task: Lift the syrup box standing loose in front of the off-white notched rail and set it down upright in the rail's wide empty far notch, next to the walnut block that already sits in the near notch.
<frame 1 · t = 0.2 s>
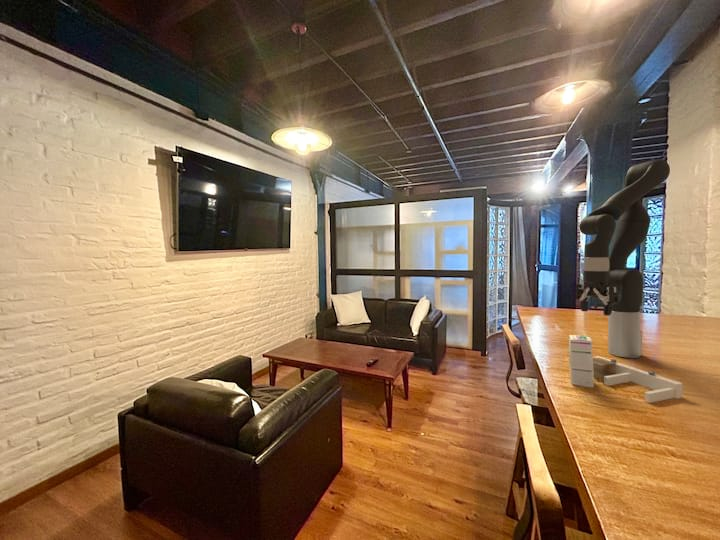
hand: (595, 313, 110), 18 cm above the table, tool pointing down, fingers open, 8 cm apart
notch rail: (633, 381, 92), on the table
walnut block: (600, 376, 97), on the table
syrup box: (581, 383, 93), on the table
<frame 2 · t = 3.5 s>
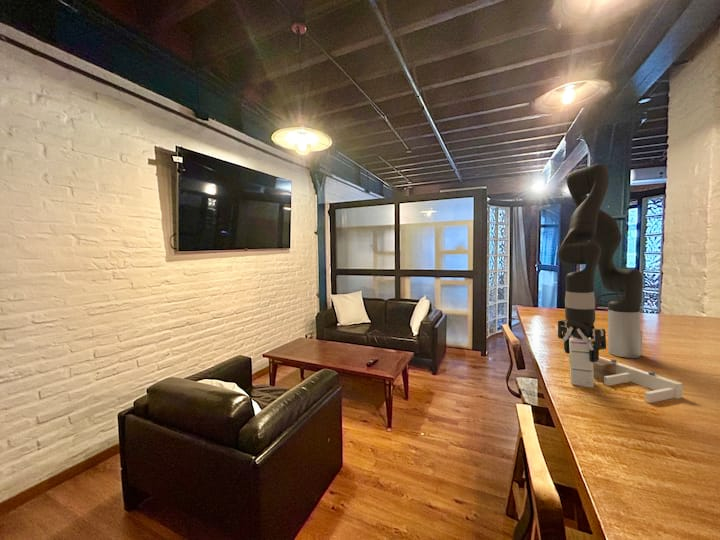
hand: (580, 357, 93), 8 cm above the table, tool pointing down, fingers closed on syrup box, 8 cm apart
syrup box: (581, 383, 93), on the table, touching gripper
when the fingers open (9 cm above the table, at t = 10.3 s): syrup box drops 1 cm, on the table.
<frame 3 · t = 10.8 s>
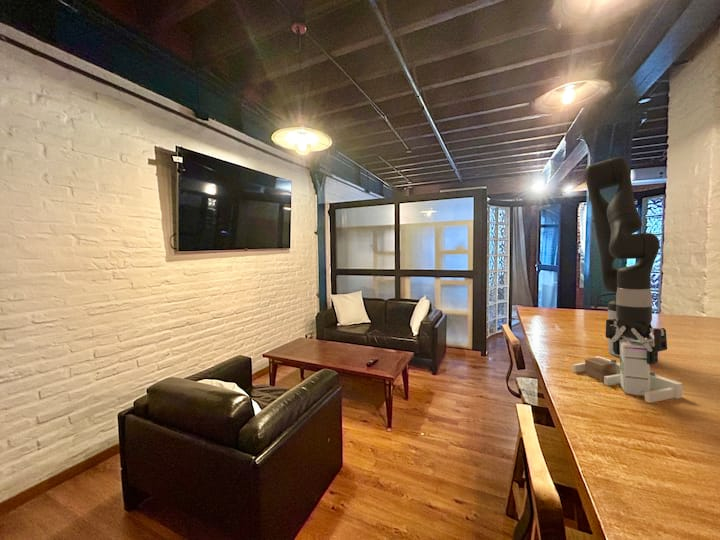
hand: (634, 358, 85), 10 cm above the table, tool pointing down, fingers open, 8 cm apart
syrup box: (634, 391, 86), on the table, touching gripper
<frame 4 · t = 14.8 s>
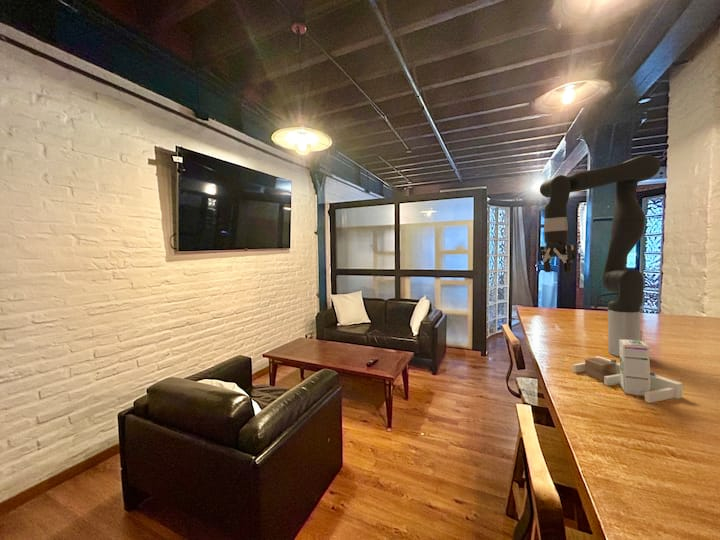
hand: (556, 272, 113), 33 cm above the table, tool pointing down, fingers open, 8 cm apart
syrup box: (634, 391, 86), on the table
at the end: syrup box inside the target area (0.4 cm from its centre), on the table; syrup box tilted 0°; the gripper is holding nothing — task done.
